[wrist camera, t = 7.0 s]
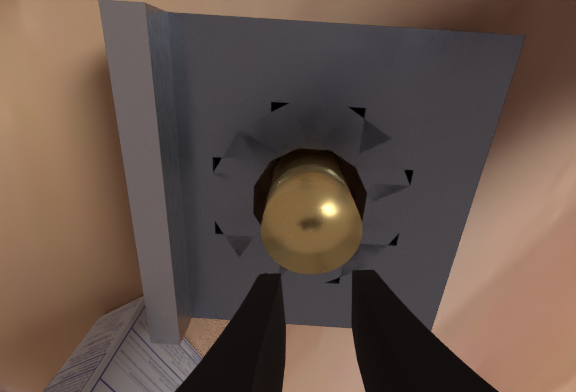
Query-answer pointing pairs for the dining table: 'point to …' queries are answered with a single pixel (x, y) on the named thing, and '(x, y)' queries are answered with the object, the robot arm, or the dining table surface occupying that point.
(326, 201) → the cylinder
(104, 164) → the dining table surface
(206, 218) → the jig
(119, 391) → the medicine box
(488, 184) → the dining table surface
